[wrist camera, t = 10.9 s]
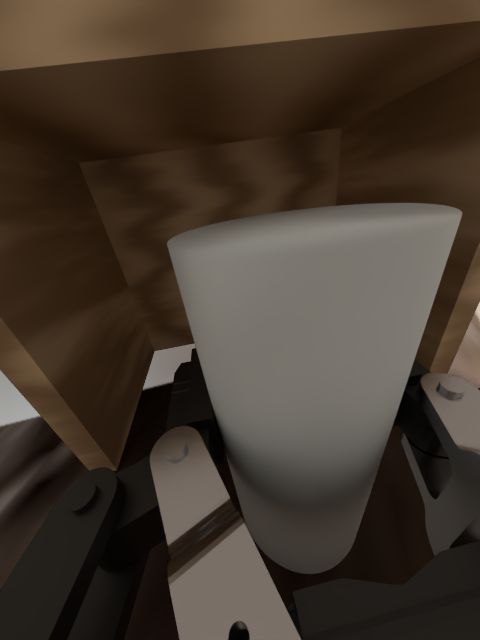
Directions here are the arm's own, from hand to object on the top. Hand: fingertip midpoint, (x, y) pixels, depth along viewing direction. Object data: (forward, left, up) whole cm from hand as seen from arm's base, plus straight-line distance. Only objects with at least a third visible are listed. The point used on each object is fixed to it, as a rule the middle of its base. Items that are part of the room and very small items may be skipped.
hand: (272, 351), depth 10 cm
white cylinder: (0, -3, -6) cm, 7 cm away
